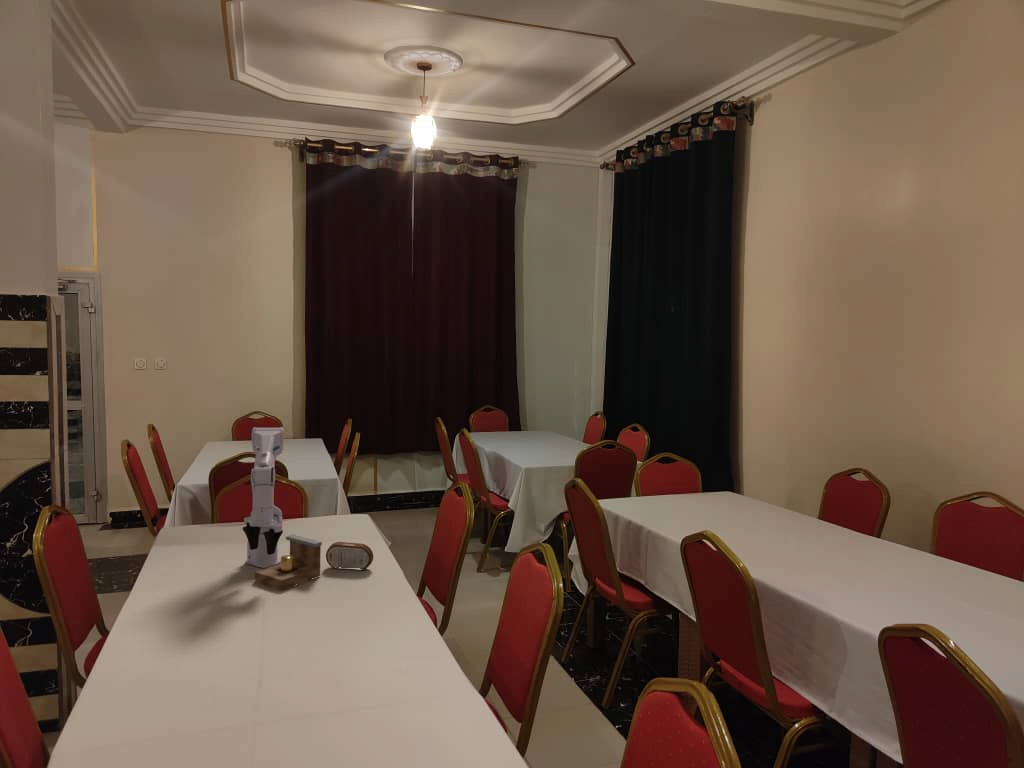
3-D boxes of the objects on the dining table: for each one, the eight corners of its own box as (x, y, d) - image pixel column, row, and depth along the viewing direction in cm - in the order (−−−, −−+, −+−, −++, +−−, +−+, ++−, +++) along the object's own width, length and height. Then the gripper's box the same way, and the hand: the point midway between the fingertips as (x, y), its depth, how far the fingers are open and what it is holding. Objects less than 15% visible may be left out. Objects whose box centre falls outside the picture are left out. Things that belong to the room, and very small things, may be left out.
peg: (278, 579, 214) (278, 557, 213) (288, 576, 217) (288, 554, 216) (285, 582, 212) (285, 559, 211) (295, 579, 214) (295, 557, 214)
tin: (373, 569, 226) (373, 543, 226) (370, 572, 223) (370, 546, 223) (327, 566, 228) (328, 540, 227) (324, 569, 225) (324, 543, 224)
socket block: (253, 581, 212) (254, 545, 211) (292, 568, 224) (292, 534, 223) (283, 590, 205) (284, 553, 204) (321, 576, 217) (321, 541, 217)
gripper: (235, 505, 210) (235, 550, 211) (268, 513, 202) (267, 559, 203) (255, 501, 216) (254, 544, 217) (287, 508, 208) (287, 553, 209)
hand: (262, 551), depth 210 cm, fingers open, 7 cm apart
